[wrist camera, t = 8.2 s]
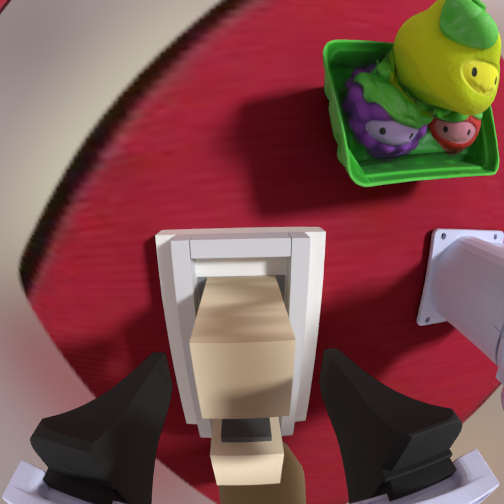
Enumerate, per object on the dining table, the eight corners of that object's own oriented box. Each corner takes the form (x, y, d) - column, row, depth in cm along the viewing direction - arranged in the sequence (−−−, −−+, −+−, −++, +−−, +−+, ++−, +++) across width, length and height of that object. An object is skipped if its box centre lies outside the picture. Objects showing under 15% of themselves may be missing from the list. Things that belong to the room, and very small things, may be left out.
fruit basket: (322, 185, 18) (430, 210, 7) (295, 54, 15) (355, -55, 4) (455, 170, 17) (573, 187, 7) (434, 61, 15) (537, 22, 4)
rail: (319, 226, 18) (377, 271, 10) (302, 408, 23) (321, 486, 14) (161, 230, 18) (105, 277, 10) (188, 411, 22) (175, 490, 14)
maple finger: (275, 275, 17) (295, 340, 10) (273, 344, 19) (288, 422, 12) (207, 277, 17) (189, 342, 10) (213, 345, 18) (203, 425, 12)
